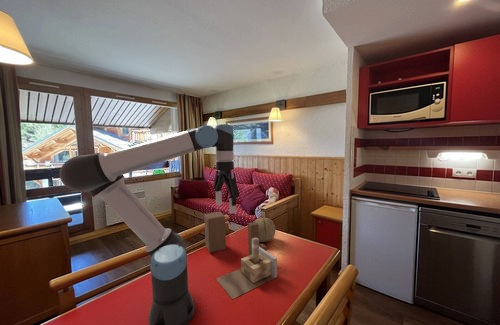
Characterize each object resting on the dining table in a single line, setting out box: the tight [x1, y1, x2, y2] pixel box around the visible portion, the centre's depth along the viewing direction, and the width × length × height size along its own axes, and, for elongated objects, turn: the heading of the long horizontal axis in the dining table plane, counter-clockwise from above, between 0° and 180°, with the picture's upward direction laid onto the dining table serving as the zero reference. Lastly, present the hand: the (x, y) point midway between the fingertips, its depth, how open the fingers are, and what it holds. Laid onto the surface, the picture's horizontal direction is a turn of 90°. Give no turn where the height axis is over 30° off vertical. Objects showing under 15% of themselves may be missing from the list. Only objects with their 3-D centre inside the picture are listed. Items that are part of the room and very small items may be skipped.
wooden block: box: [247, 221, 268, 256], centre depth 111 cm, size 9×4×18 cm, turn 112°
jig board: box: [215, 267, 279, 300], centre depth 93 cm, size 24×15×1 cm, turn 124°
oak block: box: [240, 253, 272, 283], centre depth 95 cm, size 10×10×6 cm
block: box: [203, 211, 227, 254], centre depth 119 cm, size 10×10×20 cm
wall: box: [259, 247, 278, 279], centre depth 98 cm, size 2×15×9 cm, turn 34°
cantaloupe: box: [254, 215, 276, 243], centre depth 127 cm, size 15×15×15 cm
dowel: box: [252, 238, 260, 265], centre depth 94 cm, size 3×3×16 cm
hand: (225, 208), depth 91 cm, fingers open, 13 cm apart
